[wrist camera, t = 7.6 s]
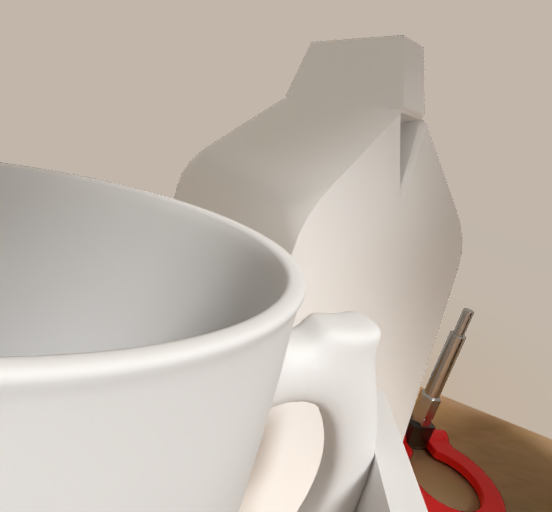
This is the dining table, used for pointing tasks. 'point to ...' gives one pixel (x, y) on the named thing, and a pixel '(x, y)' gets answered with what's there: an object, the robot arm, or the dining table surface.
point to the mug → (161, 354)
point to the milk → (342, 225)
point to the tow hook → (436, 439)
